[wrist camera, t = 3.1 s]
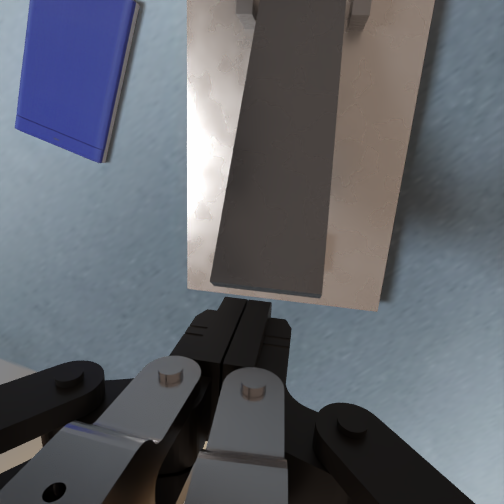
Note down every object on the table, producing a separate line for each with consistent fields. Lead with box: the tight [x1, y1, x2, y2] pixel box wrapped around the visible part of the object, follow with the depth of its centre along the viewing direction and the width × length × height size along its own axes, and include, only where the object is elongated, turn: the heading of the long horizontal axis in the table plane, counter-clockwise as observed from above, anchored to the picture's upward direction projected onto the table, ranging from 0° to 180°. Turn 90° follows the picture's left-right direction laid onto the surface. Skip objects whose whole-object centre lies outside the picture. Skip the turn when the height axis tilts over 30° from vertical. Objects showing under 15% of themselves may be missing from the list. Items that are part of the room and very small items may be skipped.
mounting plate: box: [187, 0, 435, 312], centre depth 25 cm, size 24×16×5 cm, turn 177°
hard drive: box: [15, 0, 140, 163], centre depth 28 cm, size 2×8×12 cm
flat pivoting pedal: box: [210, 0, 346, 299], centre depth 19 cm, size 19×5×2 cm
